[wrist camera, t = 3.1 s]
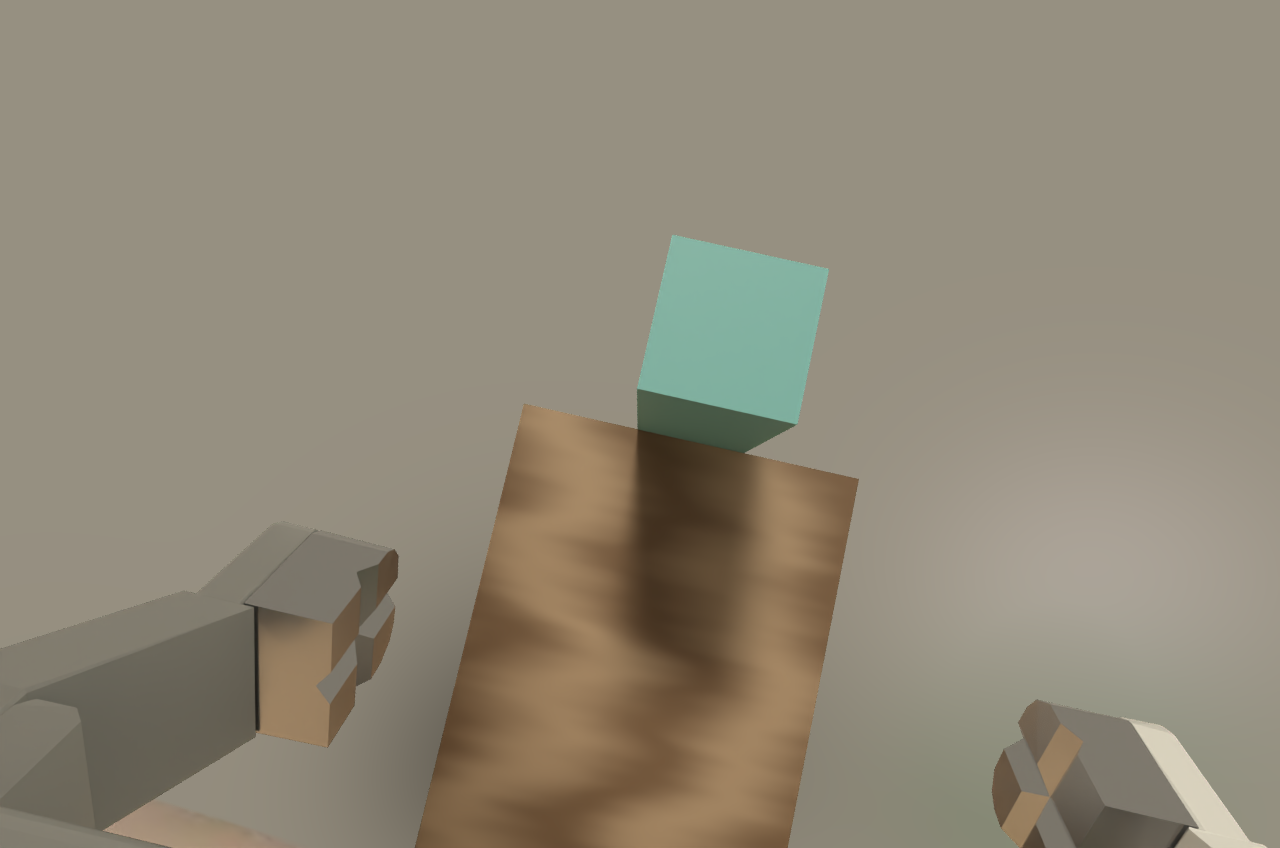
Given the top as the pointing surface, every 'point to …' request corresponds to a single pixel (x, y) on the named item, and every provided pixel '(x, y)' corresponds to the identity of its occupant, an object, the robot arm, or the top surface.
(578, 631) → the walnut stand
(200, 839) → the top surface
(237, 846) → the top surface
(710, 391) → the teal carton
